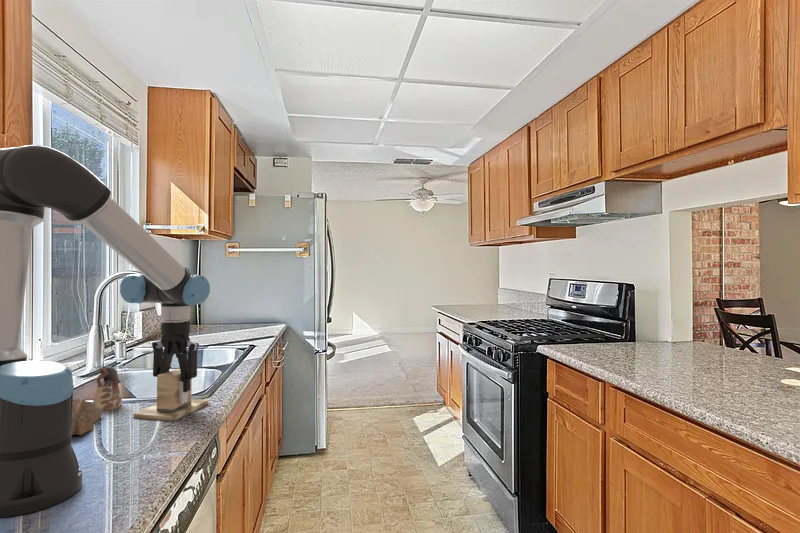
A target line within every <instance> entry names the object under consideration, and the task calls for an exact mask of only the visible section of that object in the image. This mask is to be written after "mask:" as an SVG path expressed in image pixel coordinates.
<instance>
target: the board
mask: <svg viewBox="0 0 800 533" xmlns="http://www.w3.org/2000/svg"><path fill="white" fill-rule="evenodd" d="M207 404H208V405H209V400H208V399H196V398H191V404H190V405H188V406H186V407H184V408H182V409H179V410H177V411H175V412H173V413H171V412H159V411H157V403H156V404H153V405H151V406H149V407H145V408H143V409H141V410H138V411H136V412H134V413H133V419H140V420H141V419H142V420H143V419H144V420H151V421H152V420H153V421H163V422H164V421H166V422H174V421H177V420H178V419H180V418H182V417H185V416H186V415H188V414H191V413H193V412H195V411H197V410H200V409H201V408H204V407H206V406H208V405H207ZM205 405H206V406H205Z"/></svg>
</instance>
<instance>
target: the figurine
mask: <svg viewBox="0 0 800 533" xmlns="http://www.w3.org/2000/svg"><path fill="white" fill-rule="evenodd" d="M98 371H99V373H100V374H99V375H98V376H97V378H96V384H97V385H96V388H95V392H94V395H93V401H92V403H94V404H96V407H97V408H99V409H101V410H102V412H103V411H111V410H116V409H118V408H120V407H121V406H122V405H123V404H122V401H123V399H122V398H121V397H122V396H121V391H120V386H119V384H120V383H121V382H122V381H121V380H120V379H119V375H118V370H117V369H116V368H114V367H113V366H112V365H111V366H105V367H104V368H103V367H99V368H98ZM101 379H103V380H102V381H101Z"/></svg>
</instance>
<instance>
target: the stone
mask: <svg viewBox="0 0 800 533" xmlns="http://www.w3.org/2000/svg"><path fill="white" fill-rule="evenodd" d="M103 413H104V412H103V411H102V410H101V409H99V408H97V407H96V404H94V403H93V402H92V401H91V402H90V401H86V399H84V398H78V399H73V408H72V436H73V435H74V436H76V435H78V436H82V435H84V434H86V433H88V432H91V431H93V430H94V427H95V426H94V424H95V423H98V422H99V420H100V418H101V417H102V415H103Z"/></svg>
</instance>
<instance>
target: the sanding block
mask: <svg viewBox="0 0 800 533" xmlns="http://www.w3.org/2000/svg"><path fill="white" fill-rule="evenodd" d="M181 380H182V376H181V372H180V368H176V369H172V370H169V372H166V373H163V374H159V375H157V377H156V404H157V411H159V412H171V413H173V412H175V411H177V410H179V409H182V408H184V407H186V406H188V405H190V404H191V399H192V388H193V387H192V385H193V384H192V380H193V378H192V379H191V380H190V391H188V402H186V403H184V404H182V405H181V404H179V381H181Z"/></svg>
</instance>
